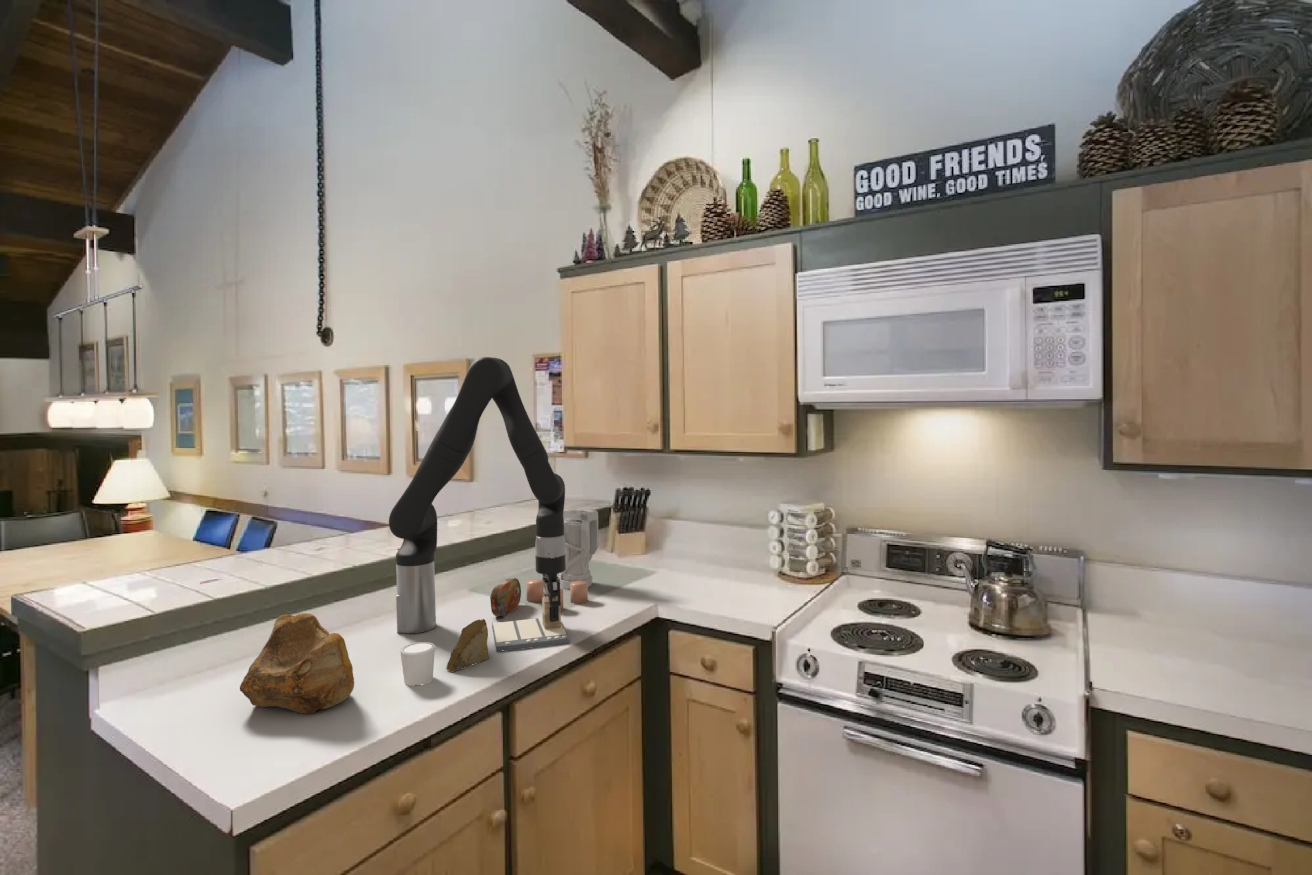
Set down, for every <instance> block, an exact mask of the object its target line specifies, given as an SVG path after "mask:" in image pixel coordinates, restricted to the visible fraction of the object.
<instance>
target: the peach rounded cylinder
mask: <svg viewBox="0 0 1312 875" xmlns="http://www.w3.org/2000/svg"><path fill="white" fill-rule="evenodd" d="M525 583H526V584H525V585H526V586H525V587H526V602H527V601H528V603H532V602H535V603H540V601H541V602H542V597H545V596H544V595H543V593H544V592H543V591H542V589H543V588H542V586H543V583H542V579H539V578H535V579H529V580H526V581H525Z"/></svg>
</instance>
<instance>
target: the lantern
mask: <svg viewBox="0 0 1312 875" xmlns="http://www.w3.org/2000/svg"><path fill="white" fill-rule="evenodd" d="M563 518H564V538H565V553H566V569H565V571H564V572H562V573H558V575H559V576H557V577H558V579H560V588H561V589H564V588H565V590H570V583H571V582H574V581H586V582H587V583H588V588H590V587H592V583H593V575H591V570H590V569H589V566H590V565H589V564H590V562H591V560H592V559H593V555H595V554H596V552H597V550H598V549H599V545H600V544H599V541H600V540H599V512H598V508H597V507H593V508H592V507H582V508H575V509H568V510H564V511H563ZM589 586H590V587H589Z"/></svg>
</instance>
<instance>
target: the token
mask: <svg viewBox="0 0 1312 875" xmlns="http://www.w3.org/2000/svg"><path fill="white" fill-rule="evenodd" d="M553 601H556V598H552V602H553ZM541 603H542V604H541V605H542V609H541V610H542V612H541V613H542V614H541V615H542V618H543V626H544V628H545V629H553V628H561V623H562V618H561V617H562V616H561V612H562V611H561V606H559V620H558V621H556V622H550V620H549V605H548V604H549V601H548V599H547V598H546V597H545V596H544V597H542V601H541Z"/></svg>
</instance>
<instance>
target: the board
mask: <svg viewBox="0 0 1312 875" xmlns="http://www.w3.org/2000/svg"><path fill="white" fill-rule="evenodd" d="M491 624H492V625H491V627H492V628H491V629H492V633H493V634H492V635H493V639H494V640H493V641H494V645H495V651H500V652H503V651H502V650H508V651H515V650H514V649H517V650H521V649H522V648H525V649H530V647H533V648H540V647H539V646H541V647H546V646H549V647H550V646H555V645H564V644H569V643H570V638H569V635H568V633H567V631H566V630H565V628H564V626H563V624H562V622H561V628H553V629H545V628H544V626H543V617H538V618H528V619H517V620H511V621H501V622H500V621H499V622H493V623H491ZM522 650H523V649H522Z"/></svg>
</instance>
